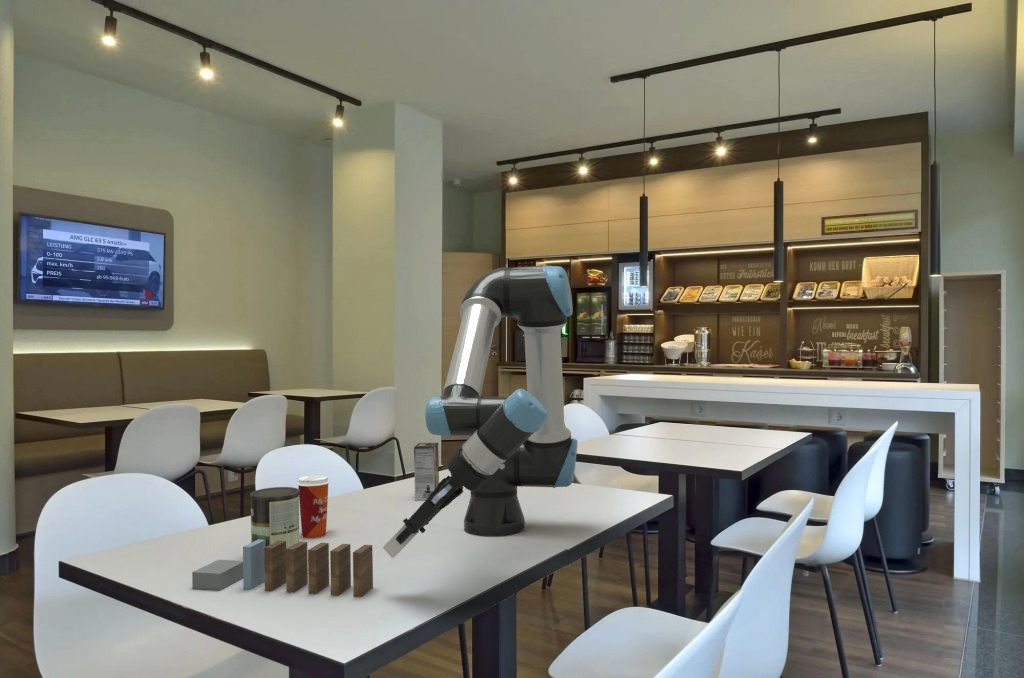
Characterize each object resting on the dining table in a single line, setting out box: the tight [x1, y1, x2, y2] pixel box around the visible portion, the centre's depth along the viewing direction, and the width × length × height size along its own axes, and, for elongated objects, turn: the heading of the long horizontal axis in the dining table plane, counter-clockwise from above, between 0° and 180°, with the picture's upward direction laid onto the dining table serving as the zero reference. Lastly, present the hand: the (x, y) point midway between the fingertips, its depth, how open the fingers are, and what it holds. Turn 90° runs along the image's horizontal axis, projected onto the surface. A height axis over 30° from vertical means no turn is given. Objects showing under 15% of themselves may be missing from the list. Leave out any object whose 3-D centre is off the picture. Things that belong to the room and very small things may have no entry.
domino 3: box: [285, 541, 308, 593], centre depth 132 cm, size 2×5×8 cm, turn 167°
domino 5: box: [329, 543, 352, 596], centre depth 130 cm, size 2×5×8 cm, turn 167°
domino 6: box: [352, 544, 374, 598], centre depth 129 cm, size 2×5×8 cm, turn 167°
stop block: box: [191, 559, 243, 591], centre depth 136 cm, size 6×8×3 cm
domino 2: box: [264, 541, 286, 592], centre depth 133 cm, size 2×5×8 cm, turn 167°
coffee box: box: [413, 442, 440, 502], centre depth 211 cm, size 9×6×16 cm
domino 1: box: [242, 540, 266, 590], centre depth 134 cm, size 2×5×8 cm, turn 167°
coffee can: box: [249, 486, 300, 549], centre depth 153 cm, size 10×10×14 cm
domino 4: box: [307, 542, 330, 595], centre depth 131 cm, size 2×5×8 cm, turn 167°
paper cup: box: [296, 474, 331, 539], centre depth 170 cm, size 8×8×14 cm
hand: (389, 551), depth 128 cm, fingers closed
